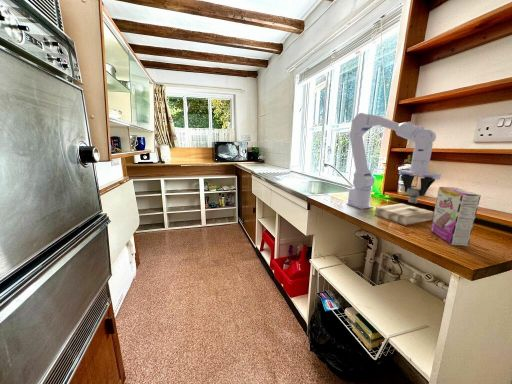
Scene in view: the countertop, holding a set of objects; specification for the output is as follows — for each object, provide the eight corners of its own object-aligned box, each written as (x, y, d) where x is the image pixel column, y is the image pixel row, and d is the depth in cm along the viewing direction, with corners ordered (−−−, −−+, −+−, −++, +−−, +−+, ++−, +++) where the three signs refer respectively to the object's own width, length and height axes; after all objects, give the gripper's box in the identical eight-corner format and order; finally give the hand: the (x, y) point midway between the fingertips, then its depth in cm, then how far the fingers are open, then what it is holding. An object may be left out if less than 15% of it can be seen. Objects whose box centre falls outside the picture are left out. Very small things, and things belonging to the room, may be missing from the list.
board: (374, 214, 93) (375, 207, 92) (400, 210, 99) (401, 203, 98) (405, 225, 81) (406, 216, 80) (431, 219, 87) (433, 211, 87)
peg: (402, 201, 90) (404, 187, 88) (410, 200, 91) (413, 187, 90) (414, 204, 85) (417, 190, 84) (423, 203, 87) (426, 189, 85)
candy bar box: (428, 231, 76) (438, 186, 72) (444, 232, 75) (455, 187, 71) (449, 245, 65) (462, 193, 61) (469, 247, 64) (482, 194, 60)
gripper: (396, 159, 89) (391, 191, 92) (435, 162, 76) (428, 199, 79) (406, 159, 92) (401, 189, 95) (446, 162, 79) (439, 197, 82)
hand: (414, 194), depth 87 cm, fingers closed on peg, 5 cm apart
